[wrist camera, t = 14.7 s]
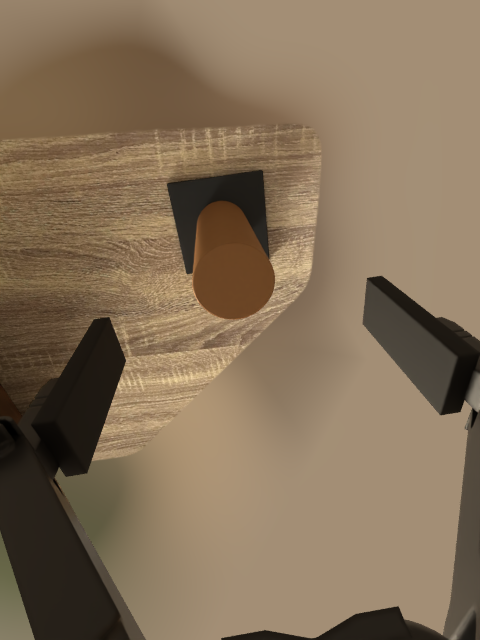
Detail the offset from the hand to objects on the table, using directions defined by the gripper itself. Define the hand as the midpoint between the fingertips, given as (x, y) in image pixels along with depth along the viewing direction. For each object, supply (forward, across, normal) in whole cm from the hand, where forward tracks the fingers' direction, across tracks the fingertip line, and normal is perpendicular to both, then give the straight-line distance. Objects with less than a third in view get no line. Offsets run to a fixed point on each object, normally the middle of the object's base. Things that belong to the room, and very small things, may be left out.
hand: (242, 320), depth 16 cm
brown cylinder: (+22, 0, 0) cm, 22 cm away
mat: (+22, 0, 0) cm, 22 cm away
